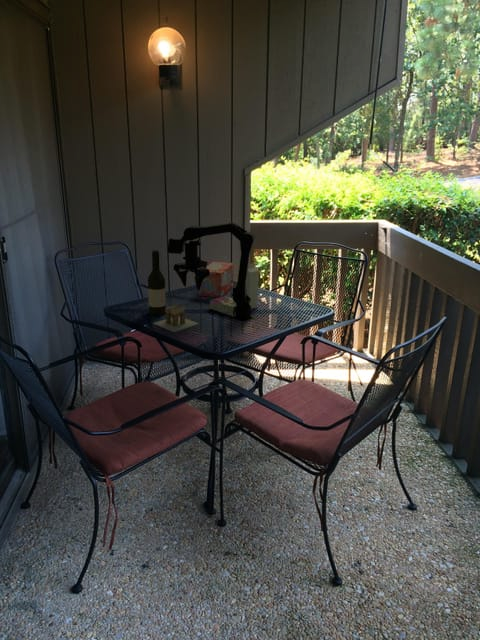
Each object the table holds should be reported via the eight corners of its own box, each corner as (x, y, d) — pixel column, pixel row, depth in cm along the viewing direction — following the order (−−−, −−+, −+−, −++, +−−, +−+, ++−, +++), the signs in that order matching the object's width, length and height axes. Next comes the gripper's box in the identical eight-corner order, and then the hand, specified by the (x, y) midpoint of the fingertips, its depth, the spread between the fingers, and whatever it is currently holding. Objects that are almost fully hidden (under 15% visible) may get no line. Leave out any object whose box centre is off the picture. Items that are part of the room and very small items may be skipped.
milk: (257, 307, 244) (259, 264, 237) (248, 310, 240) (250, 265, 233) (248, 304, 248) (250, 261, 241) (240, 307, 244) (241, 263, 237)
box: (212, 283, 285) (212, 260, 281) (233, 285, 283) (234, 262, 278) (198, 296, 261) (198, 270, 256) (221, 298, 258) (221, 272, 254)
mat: (198, 324, 219) (198, 323, 219) (174, 332, 209) (174, 331, 209) (177, 317, 228) (177, 315, 228) (153, 324, 218) (153, 322, 218)
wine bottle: (162, 316, 228) (160, 252, 218) (145, 315, 230) (143, 251, 220) (168, 311, 236) (167, 248, 226) (152, 309, 237) (150, 247, 227)
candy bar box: (225, 295, 246) (250, 302, 236) (225, 304, 248) (249, 312, 237) (209, 299, 238) (233, 307, 228) (209, 309, 240) (233, 317, 230)
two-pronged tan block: (185, 323, 218) (184, 308, 216) (174, 326, 214) (174, 311, 212) (176, 320, 222) (175, 305, 220) (165, 323, 218) (165, 308, 216)
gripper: (218, 255, 222) (218, 288, 227) (190, 249, 234) (190, 281, 239) (200, 258, 214) (200, 293, 219) (172, 252, 226) (173, 285, 231)
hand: (191, 288), depth 227 cm, fingers open, 9 cm apart
